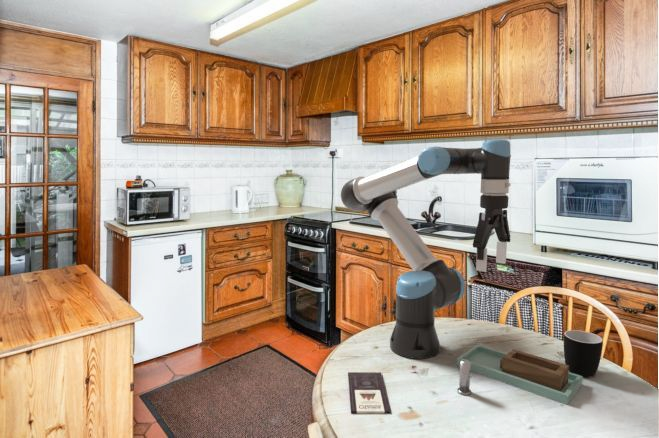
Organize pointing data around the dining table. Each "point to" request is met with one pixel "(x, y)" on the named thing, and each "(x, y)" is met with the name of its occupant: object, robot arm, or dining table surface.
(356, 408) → the chocolate bar
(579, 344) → the mug
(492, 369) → the tray
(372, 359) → the dining table surface
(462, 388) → the silver cylindrical piece
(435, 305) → the robot arm
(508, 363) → the wooden rectangular frame
